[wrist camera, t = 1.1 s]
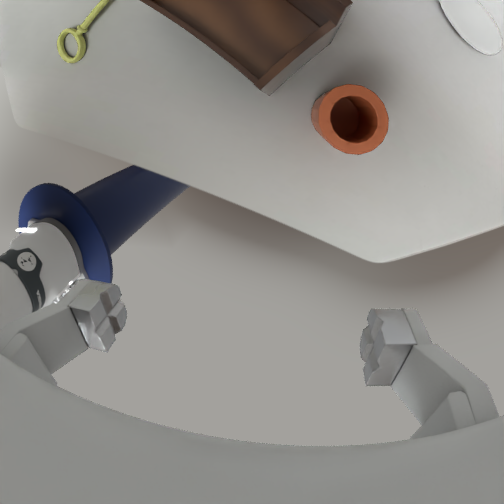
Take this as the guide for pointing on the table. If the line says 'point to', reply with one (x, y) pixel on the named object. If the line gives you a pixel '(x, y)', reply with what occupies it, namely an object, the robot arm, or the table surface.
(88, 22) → the key
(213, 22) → the box
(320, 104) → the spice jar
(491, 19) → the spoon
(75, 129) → the table surface
